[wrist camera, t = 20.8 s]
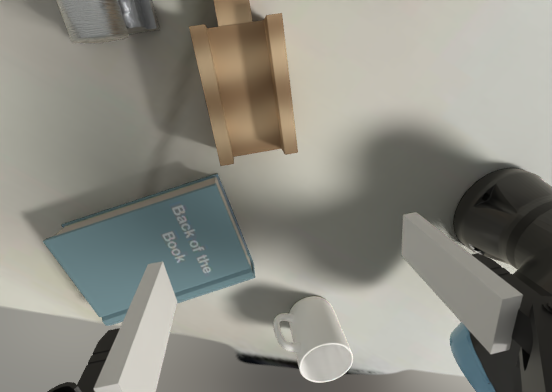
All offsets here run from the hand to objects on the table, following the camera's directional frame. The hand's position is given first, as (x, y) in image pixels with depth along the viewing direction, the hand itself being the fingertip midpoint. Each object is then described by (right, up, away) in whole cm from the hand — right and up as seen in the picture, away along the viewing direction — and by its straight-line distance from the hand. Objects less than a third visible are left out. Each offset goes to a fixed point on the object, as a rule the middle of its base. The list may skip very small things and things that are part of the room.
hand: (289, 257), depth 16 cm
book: (-17, -4, +29) cm, 34 cm away
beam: (-5, +19, +20) cm, 29 cm away
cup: (+4, -17, +37) cm, 41 cm away
